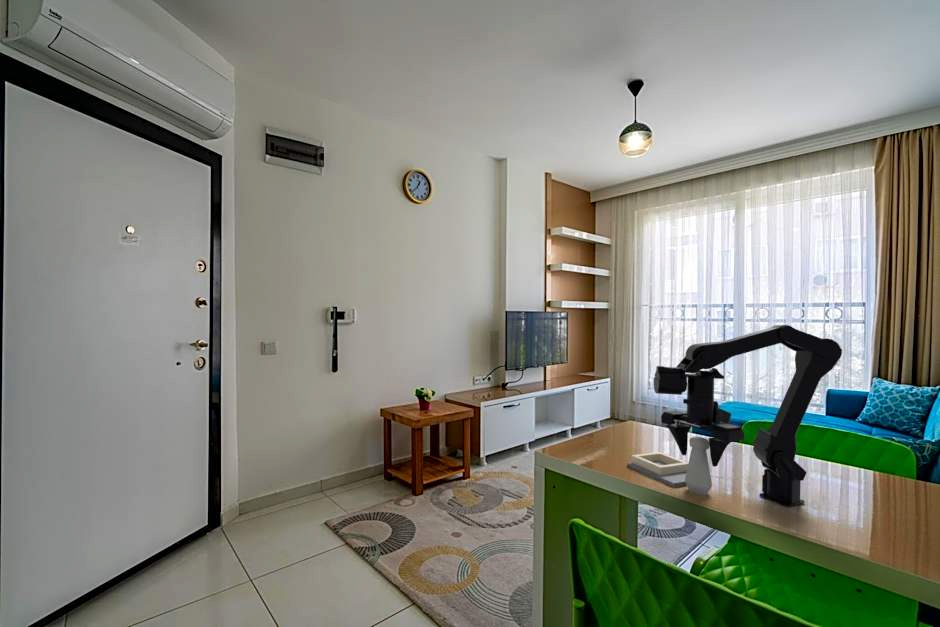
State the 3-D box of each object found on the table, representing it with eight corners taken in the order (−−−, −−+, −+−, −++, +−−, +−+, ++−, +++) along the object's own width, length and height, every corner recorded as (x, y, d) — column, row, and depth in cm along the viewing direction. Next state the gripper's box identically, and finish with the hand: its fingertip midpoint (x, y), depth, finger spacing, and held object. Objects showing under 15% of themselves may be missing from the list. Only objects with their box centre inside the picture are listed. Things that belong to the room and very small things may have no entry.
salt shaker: (716, 497, 101) (718, 441, 101) (692, 496, 101) (693, 441, 101) (703, 487, 107) (705, 435, 107) (680, 486, 107) (681, 434, 107)
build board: (710, 481, 111) (711, 469, 111) (673, 487, 106) (674, 475, 106) (661, 461, 126) (661, 451, 126) (627, 466, 121) (627, 455, 121)
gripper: (761, 401, 98) (759, 469, 98) (691, 388, 116) (689, 446, 115) (727, 404, 94) (726, 475, 94) (660, 390, 111) (658, 450, 111)
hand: (698, 460), depth 104 cm, fingers open, 8 cm apart
